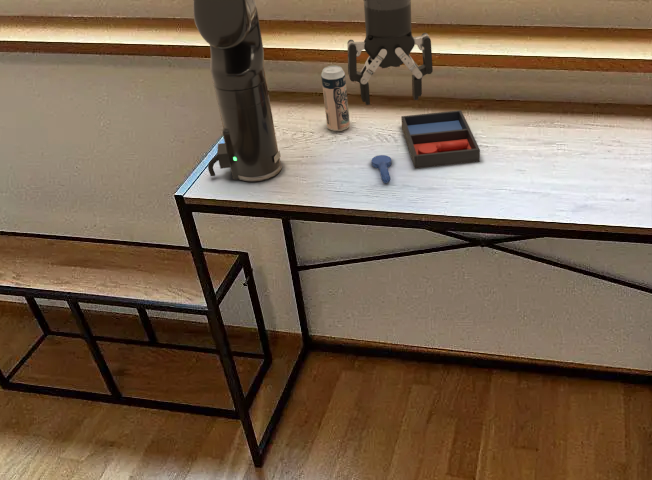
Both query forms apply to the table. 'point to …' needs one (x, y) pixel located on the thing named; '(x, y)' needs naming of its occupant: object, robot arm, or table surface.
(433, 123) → the sorting tray
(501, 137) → the table surface
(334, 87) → the beer can
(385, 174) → the blue spoon
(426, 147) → the red spoon
